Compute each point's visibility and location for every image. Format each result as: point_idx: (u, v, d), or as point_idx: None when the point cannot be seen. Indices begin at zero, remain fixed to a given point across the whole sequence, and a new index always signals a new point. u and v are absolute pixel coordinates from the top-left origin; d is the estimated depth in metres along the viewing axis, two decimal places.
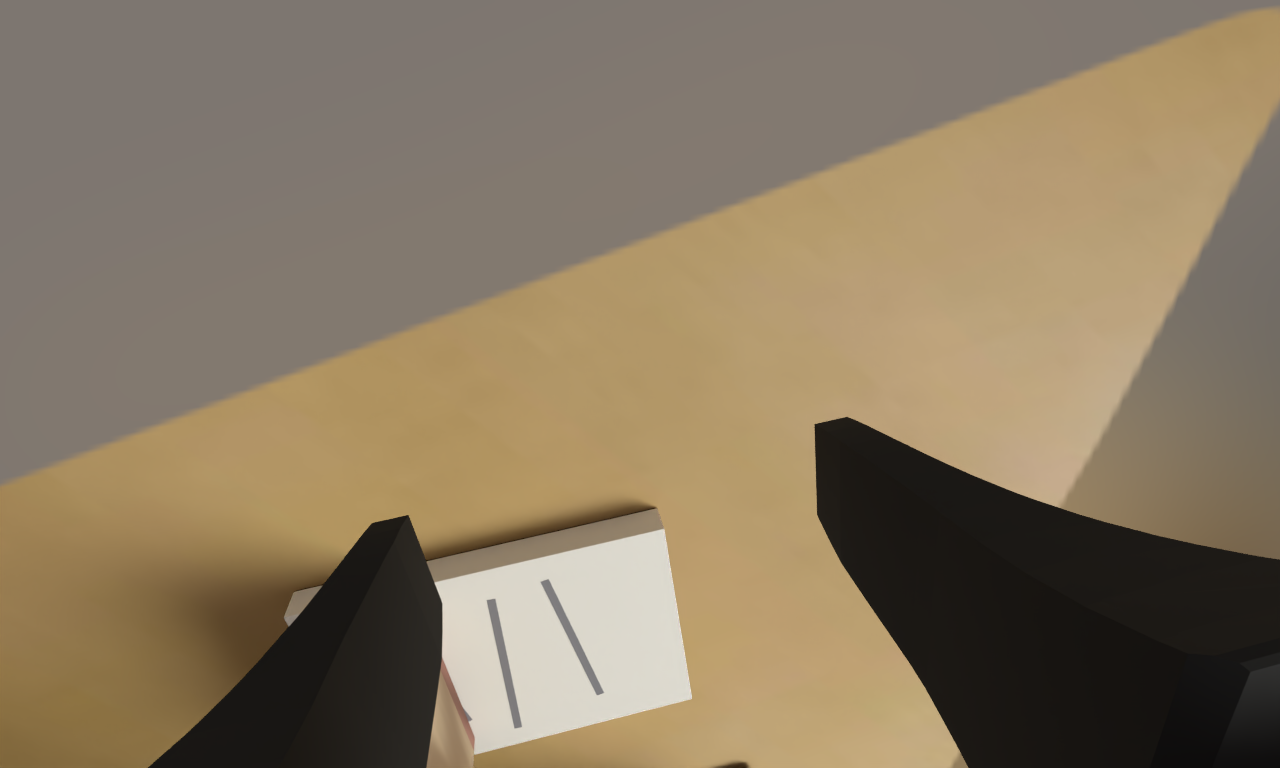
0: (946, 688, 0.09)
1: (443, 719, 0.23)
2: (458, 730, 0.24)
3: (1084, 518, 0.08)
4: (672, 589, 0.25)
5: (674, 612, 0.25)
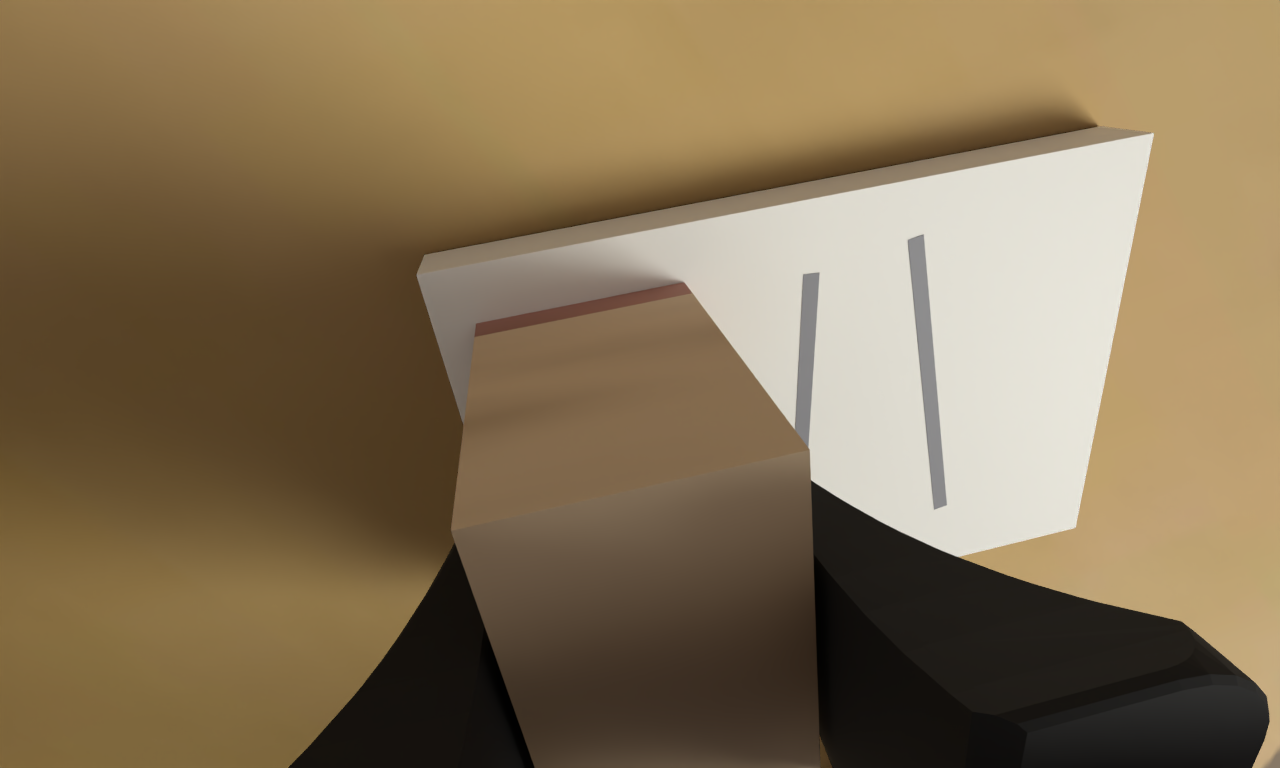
0: (825, 720, 0.09)
1: None
2: None
3: (941, 553, 0.08)
4: (1121, 285, 0.13)
5: (1107, 340, 0.14)
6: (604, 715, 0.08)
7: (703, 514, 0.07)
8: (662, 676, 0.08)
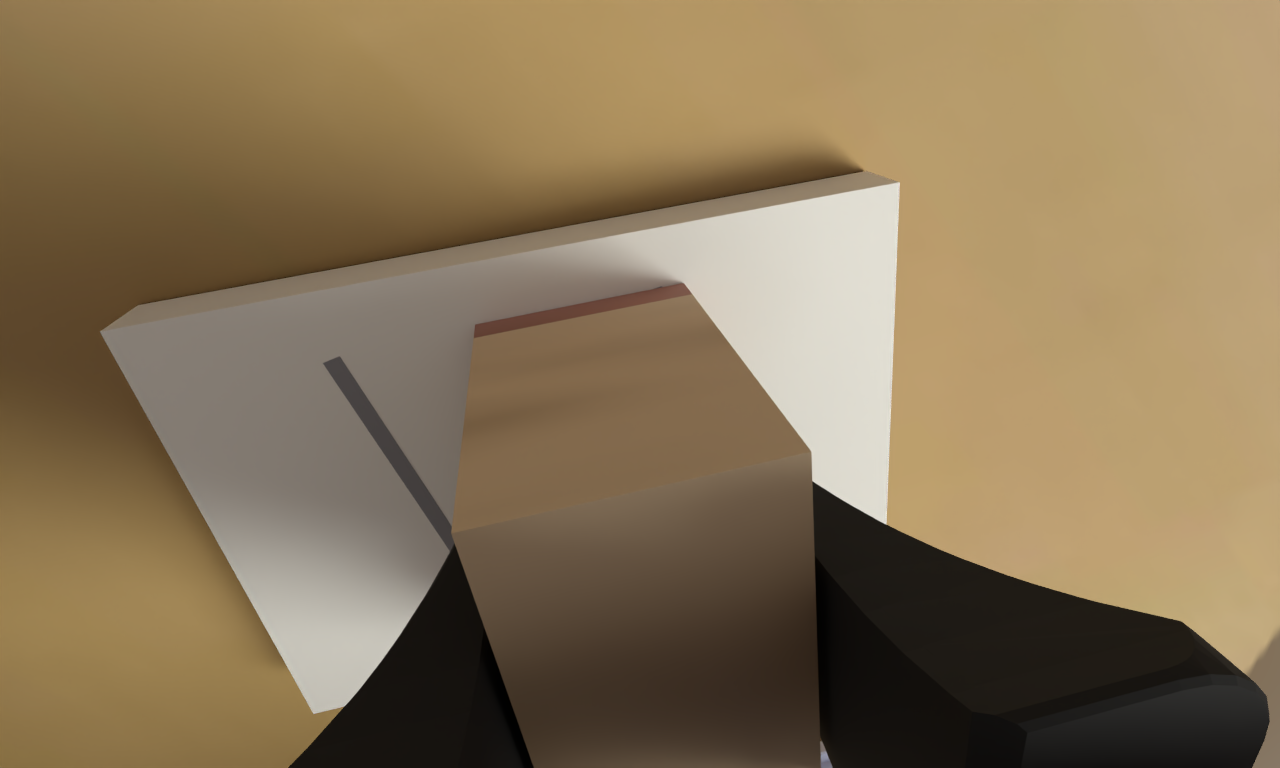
0: (825, 720, 0.09)
1: None
2: None
3: (941, 553, 0.08)
4: (891, 335, 0.13)
5: (885, 389, 0.13)
6: (605, 717, 0.08)
7: (704, 516, 0.07)
8: (663, 678, 0.08)
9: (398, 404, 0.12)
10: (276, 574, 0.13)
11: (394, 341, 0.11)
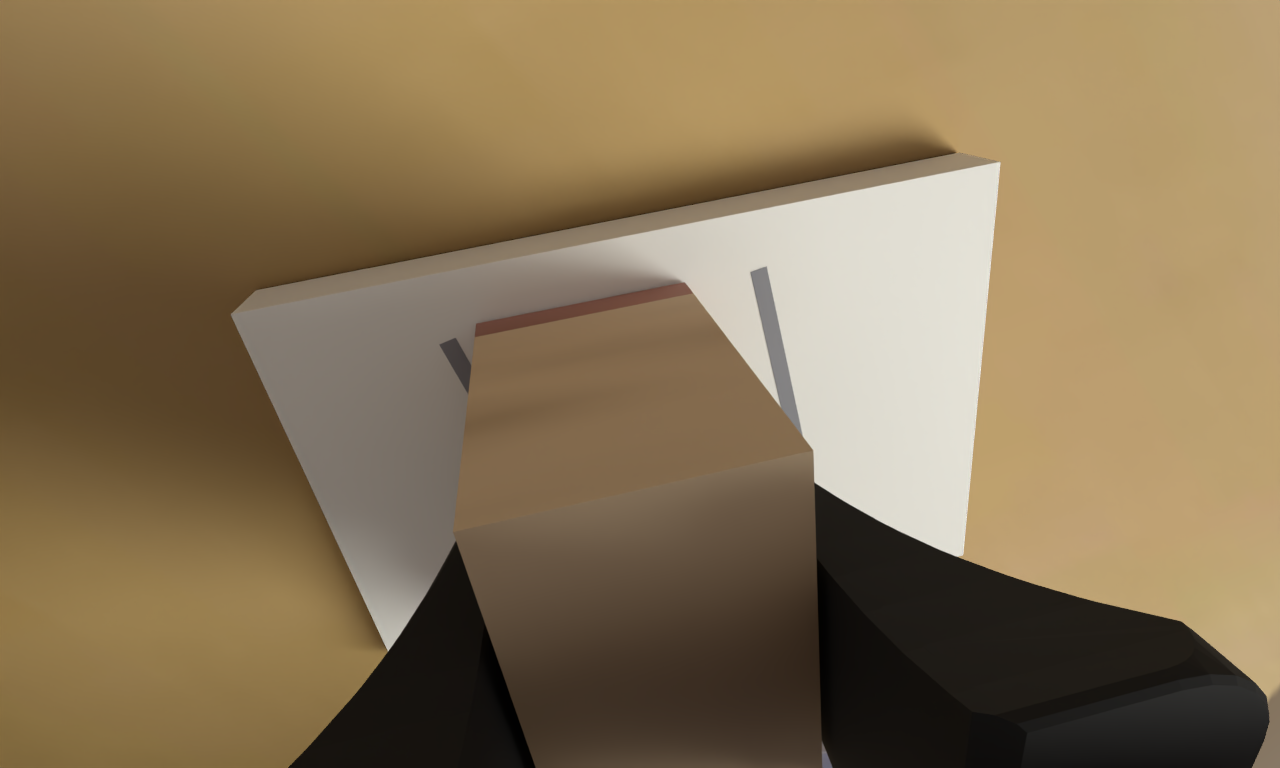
0: (825, 720, 0.09)
1: None
2: None
3: (941, 553, 0.08)
4: (983, 314, 0.13)
5: (975, 368, 0.14)
6: (605, 717, 0.08)
7: (706, 515, 0.07)
8: (664, 677, 0.08)
9: None
10: (381, 555, 0.13)
11: None
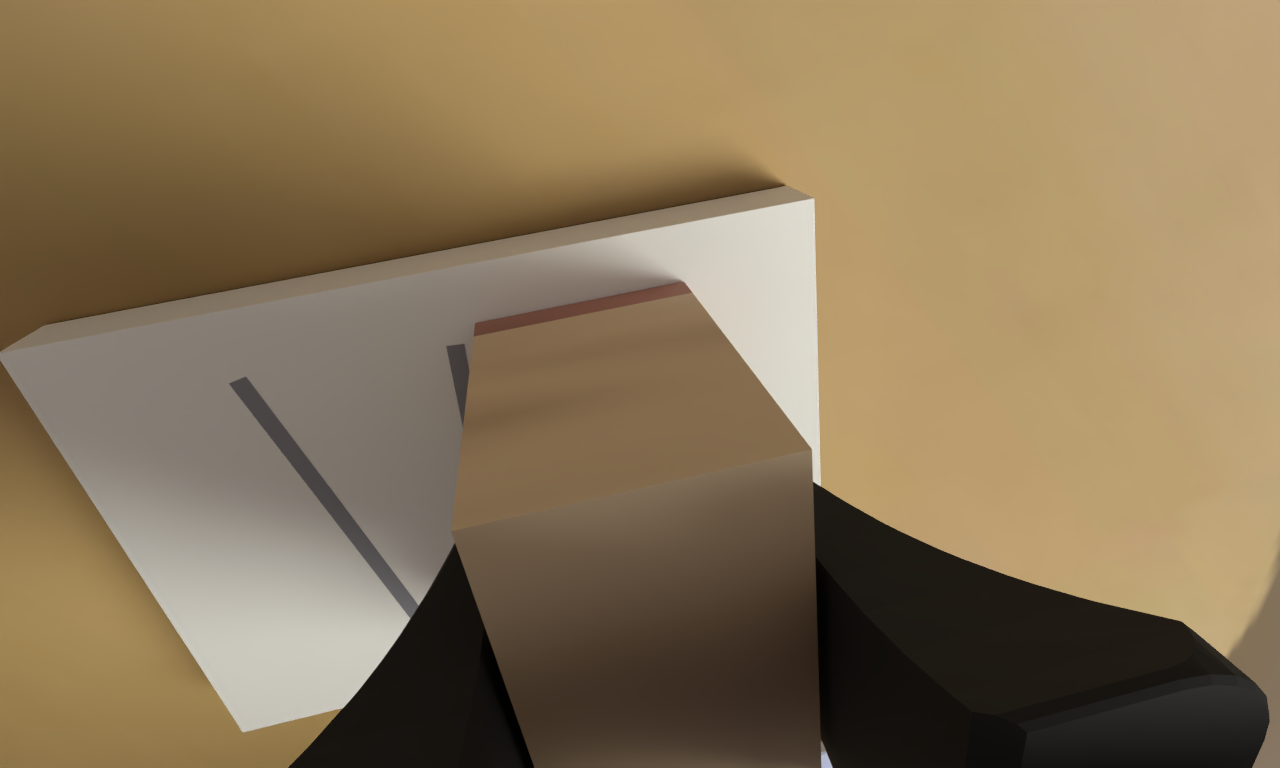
0: (825, 720, 0.09)
1: None
2: None
3: (941, 553, 0.08)
4: (814, 351, 0.13)
5: (812, 405, 0.13)
6: (605, 716, 0.08)
7: (706, 515, 0.07)
8: (663, 677, 0.08)
9: (310, 424, 0.12)
10: (195, 594, 0.13)
11: (301, 361, 0.11)
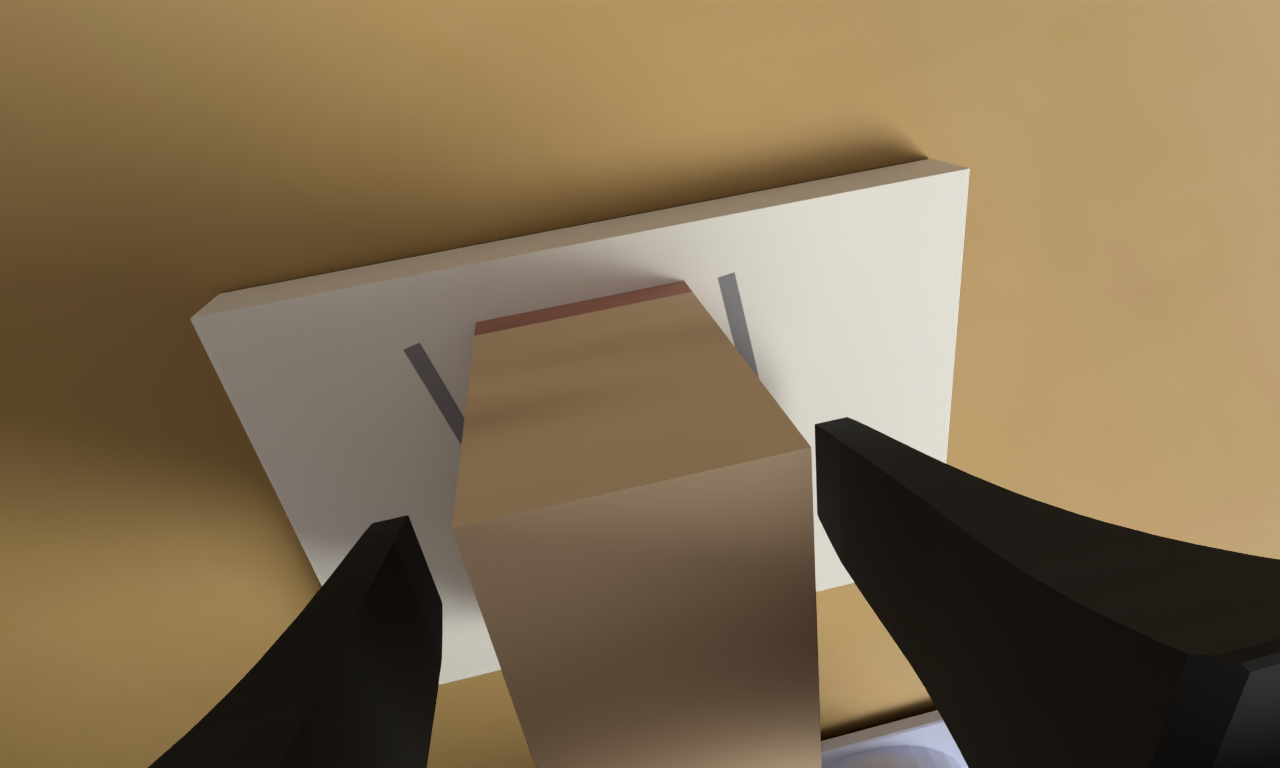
0: (946, 688, 0.09)
1: None
2: None
3: (1083, 518, 0.08)
4: (955, 321, 0.13)
5: (947, 375, 0.13)
6: (605, 714, 0.08)
7: (705, 512, 0.07)
8: (663, 674, 0.08)
9: None
10: None
11: (473, 327, 0.11)
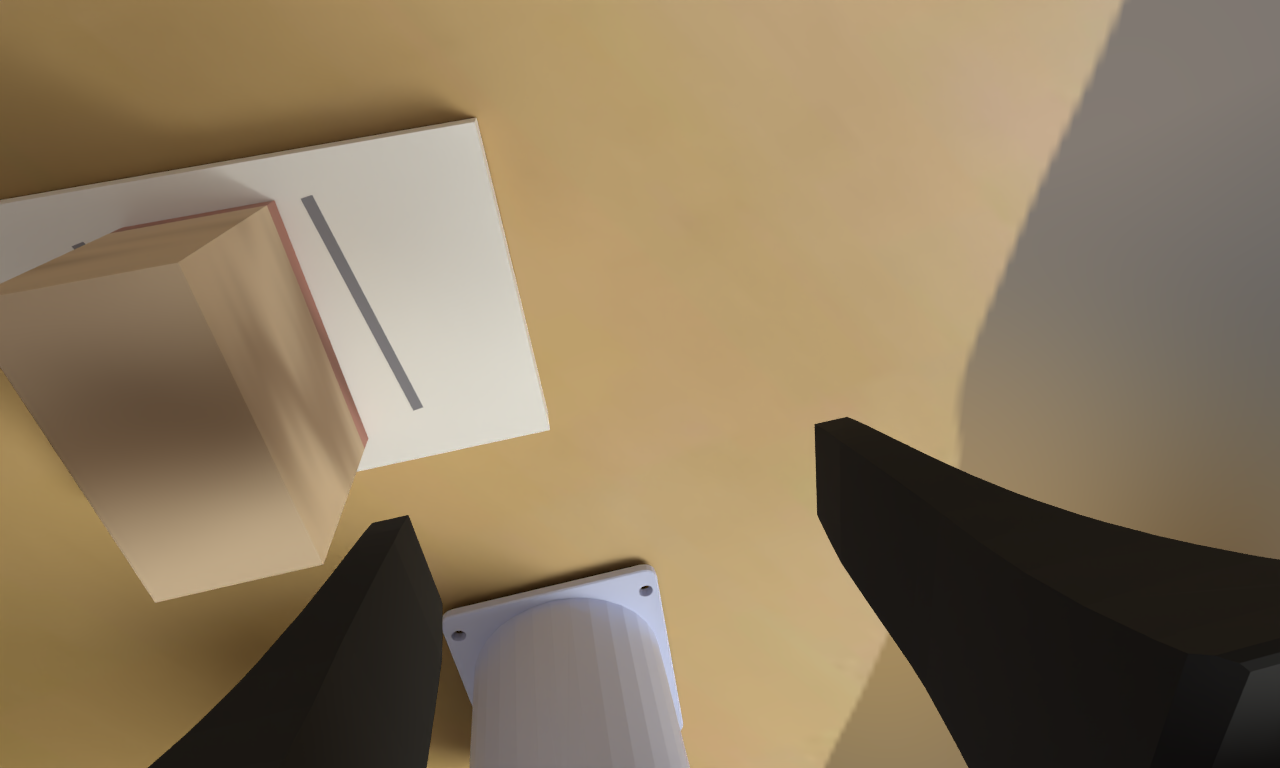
0: (946, 688, 0.09)
1: (301, 348, 0.16)
2: (334, 394, 0.18)
3: (1084, 518, 0.08)
4: (499, 235, 0.18)
5: (507, 277, 0.18)
6: (110, 443, 0.13)
7: (123, 302, 0.12)
8: (140, 417, 0.13)
9: None
10: None
11: None
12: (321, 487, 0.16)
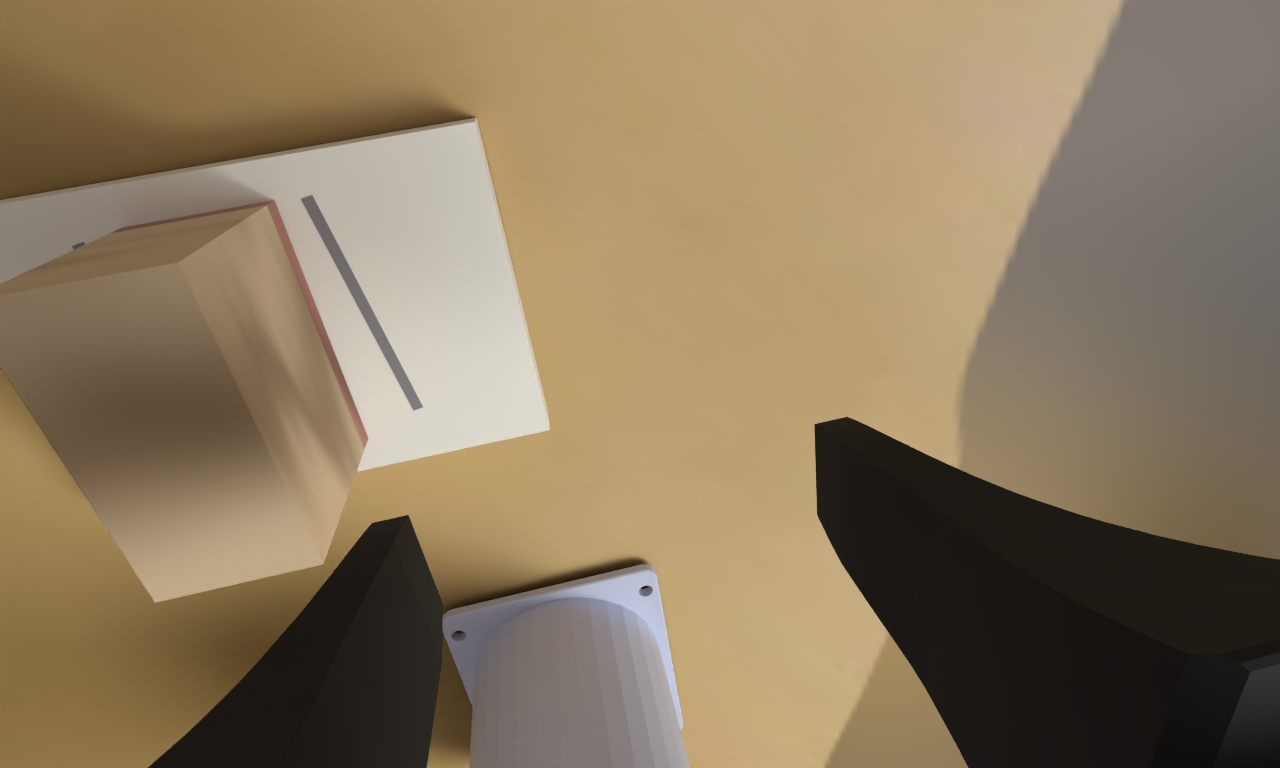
0: (946, 688, 0.09)
1: (301, 348, 0.16)
2: (334, 394, 0.18)
3: (1084, 518, 0.08)
4: (499, 235, 0.18)
5: (507, 277, 0.18)
6: (110, 443, 0.13)
7: (123, 302, 0.12)
8: (140, 417, 0.13)
9: None
10: None
11: None
12: (321, 487, 0.16)
